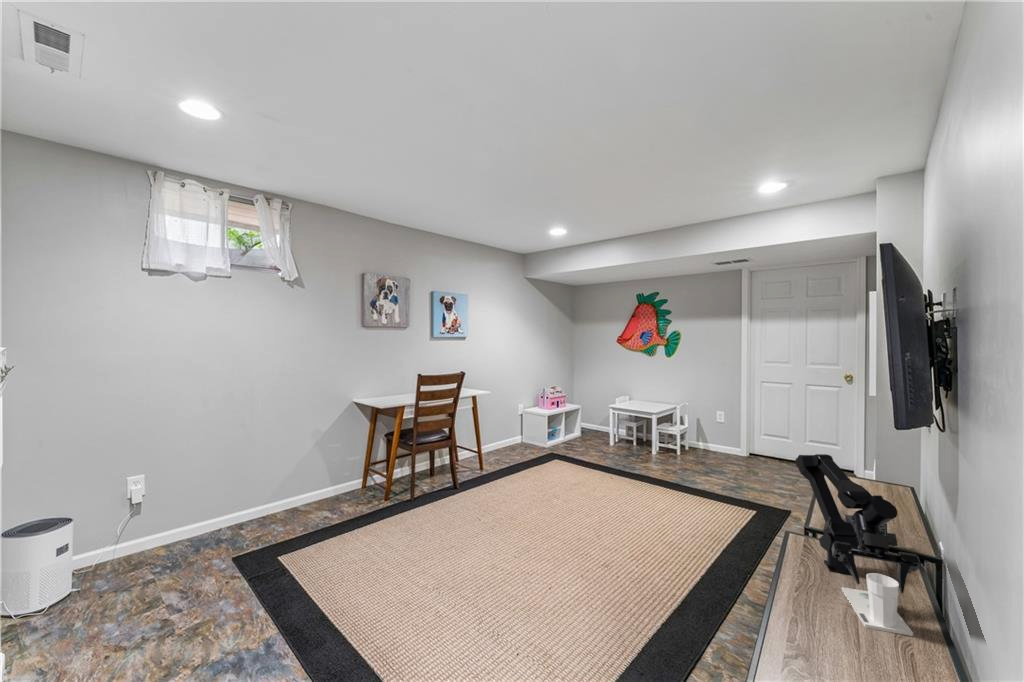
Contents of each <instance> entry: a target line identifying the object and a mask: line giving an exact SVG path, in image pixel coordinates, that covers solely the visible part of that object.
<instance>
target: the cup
mask: <svg viewBox="0 0 1024 682" xmlns="http://www.w3.org/2000/svg"><path fill="white" fill-rule="evenodd" d="M865 577H866V578H865V579H866V588H867V591H868V596H869V607H870V618H871V619H872V620H873V621H874V622H875V623H877V624H879V625H882V626H884V627H891V628H893V627H894V626H896V617H897V613H898V601H899V600H898V599H899V595H900V594H899V593H900V589H899V583H898V580H896V579H895V578H892V577H890V576H888V575H885V574H881V573H876V572H874V573H873V572H870V573H866V575H865Z"/></svg>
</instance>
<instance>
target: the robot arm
mask: <svg viewBox="0 0 1024 682" xmlns="http://www.w3.org/2000/svg"><path fill="white" fill-rule="evenodd" d="M795 466H796V467H797V469H798V471H799V473H800V475H802V476H803V477H804V478H805V479H806V480H808V481H809V482H808V483H809V485H810V487H811V489H812V491H813V493H814V497H815V499H816V503H817V505H818V507H819V509H820V511H821V514H822V517H823V519H824V522H825V523H824V524H823V525H824V526H823V528H822V529H823V530H822V531H823V535H822V536H820V537H819V539H818V541H819V545H820V547H821V548H822V549H824V550H825V551H826V555H827V557H826V558H827V559H823V563H824V564H825V566H826V568H827V570H828V571H829V572H833V573H842V574H848V575H851V576H852V578H853V580H854V581H855V582H856V585H860V583H861V582H860V576H859V573H858V569H857V566H856V562H855V557H860V558H866V559H872V560H876V561H881V562H889V563H894V564H896V566H897V568H896V577H897V582H898V583H899V593H900V594H904V591H905V585H906V581H907V580H906V579H907V576H908V574H912V572H917V570H919V568H920V567H921V566H922V563H921V561H920V557H919V556H918V555H917V554H916V553H910V552H903V551H898V553H897V555H894V554H890V553H889V549H890V547H898V539H897V535H896V533H891V532H887V533H886V536H884V535H883V534H882V532H881V528H880V526H882V525H885V524H886V523H887V524H888V523H889V522H891V521H892V520H894V519H895V518H897V516H898V509H897V508H896V506H894V505H893V504H892V503H891V502H890V501H888V500H887V499H884V497H883V496H882V495H879V494H878V495H875V494H874V495H872V494H871V493H870V491H868V490H867V489H866V488H865V487H864V486H863V485H860V484H858V483H855V482H854V481H852V480H851V478H849V476H848V475H847V474H846V473H845V472H844V471H843V470H842V469H841V468H840V466H838V465H837V463H836V462H835V461H834V459H833V455H830V454H826V453H824V454H821V453H820V454H818V453H817V454H816V453H815V454H799V455H798V456H797V457H796V458H795ZM825 477H826V478H825ZM826 479H828V481H830V483H831V485H833V487H834V488H835V489H836V491H837V498H838V499H839V501H840V502H841V504H842V505H843V507H844V508H846V509H854V510H855V509H856V510H857V511H854V513H853V514H852V520H855V525H856V530H857V534H856V533H855V531H854V529H853V526H852V524H851V523H850V522H845V520H844V519H843V518H842V516H841V513H840V511H839V508H838V506H837V504H836V502H835V500H834V497H833V494H832V492H831V490H830V487H829V485H828V482H827V480H826ZM857 536H858V537H857ZM858 545H859V547H860V549H857V548H858ZM886 552H888V553H886Z"/></svg>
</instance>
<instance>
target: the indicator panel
mask: <svg viewBox="0 0 1024 682" xmlns="http://www.w3.org/2000/svg"><path fill="white" fill-rule="evenodd" d="M841 591H842V593H843V592H844V593H843V595H845V597H847V598H846V599H847V601H848V600H849V601H848V602H849V604H850V603H851V604H850V605H852V609H853V610H854V612H855V614H856V615H857V617H858V618H859V620H860V622H861V623H862V625H863V627H864V628H867V629H872V630H877V631H883V632H888V633H894V634H899V635H905V636H911V637H914V632H913V631H912V630H911V628H910V627H909V626H908V624H907V623H906V622H905V620H904V619H903V618H902V617H901V615H900V614H899V613H898V612H897V617H896V626H894V627H893V628H891V627H884V626H882V625H879V624H877V623H875V622H874V621H873V620H872V619H871V618H870V607H869V596H868V590H861V589H855V588H850V587H849V588H848V587H843V586H841Z"/></svg>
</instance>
